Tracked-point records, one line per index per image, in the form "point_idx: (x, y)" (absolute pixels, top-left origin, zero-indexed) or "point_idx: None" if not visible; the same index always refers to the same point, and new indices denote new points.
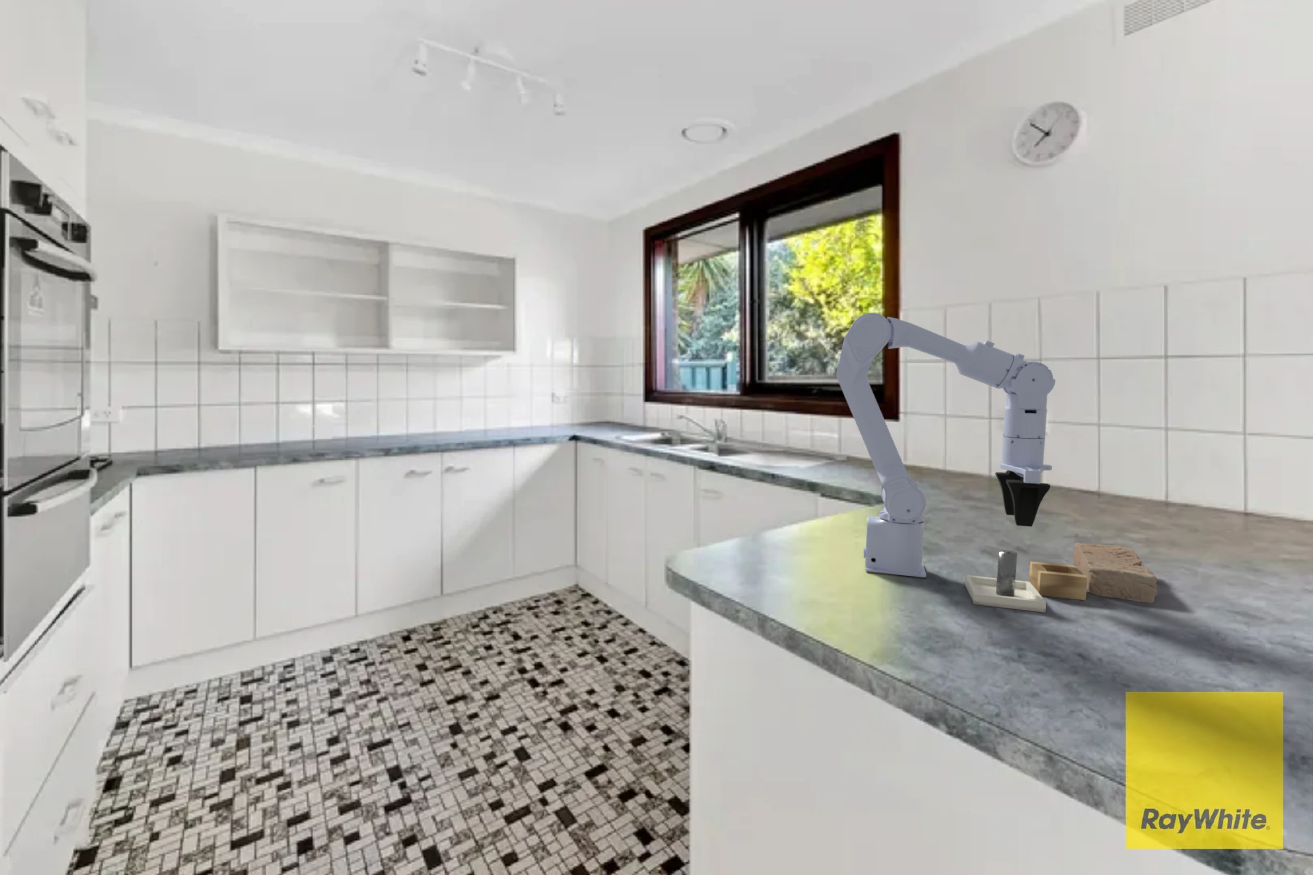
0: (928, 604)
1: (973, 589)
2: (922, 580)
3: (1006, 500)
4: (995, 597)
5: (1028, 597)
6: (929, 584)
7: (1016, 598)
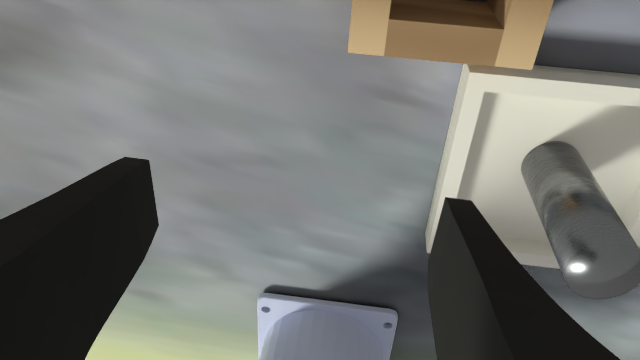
0: (609, 342)
1: None
2: (412, 316)
3: (108, 298)
4: None
5: (581, 102)
6: None
7: None
